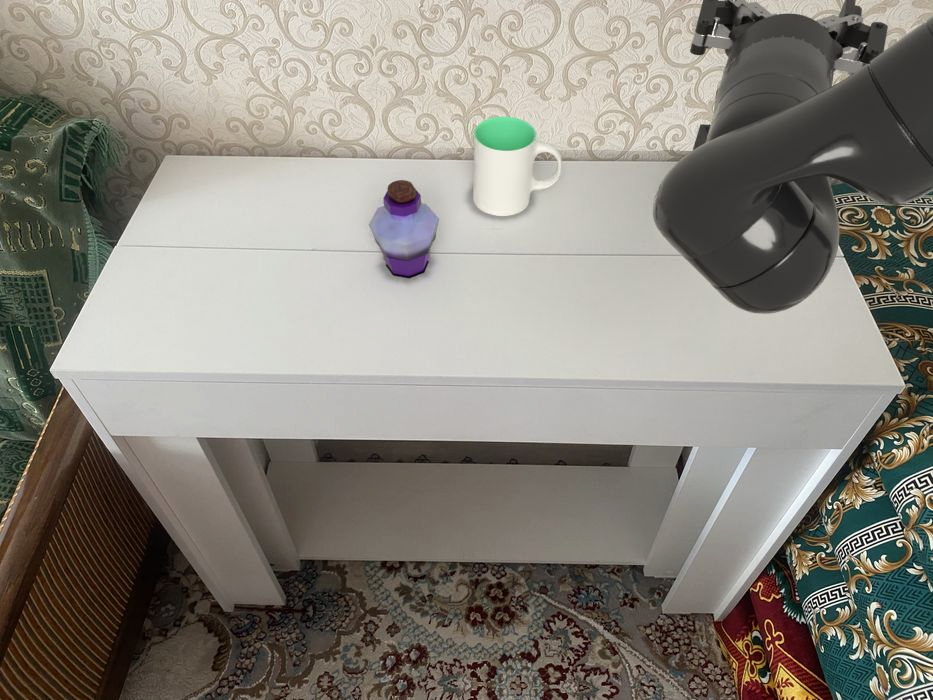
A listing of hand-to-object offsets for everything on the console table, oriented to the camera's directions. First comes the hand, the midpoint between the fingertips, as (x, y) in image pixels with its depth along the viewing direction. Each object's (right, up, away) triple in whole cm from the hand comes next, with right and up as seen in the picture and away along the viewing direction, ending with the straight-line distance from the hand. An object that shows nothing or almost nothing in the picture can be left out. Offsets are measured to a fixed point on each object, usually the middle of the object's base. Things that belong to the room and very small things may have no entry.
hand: (793, 1), depth 59 cm
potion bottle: (-36, -19, +30) cm, 50 cm away
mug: (-21, -9, +39) cm, 45 cm away
